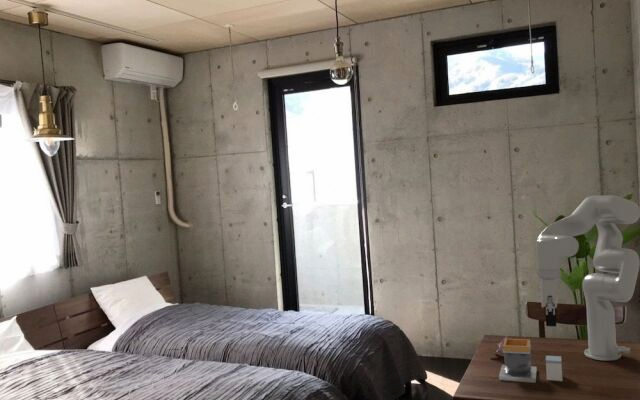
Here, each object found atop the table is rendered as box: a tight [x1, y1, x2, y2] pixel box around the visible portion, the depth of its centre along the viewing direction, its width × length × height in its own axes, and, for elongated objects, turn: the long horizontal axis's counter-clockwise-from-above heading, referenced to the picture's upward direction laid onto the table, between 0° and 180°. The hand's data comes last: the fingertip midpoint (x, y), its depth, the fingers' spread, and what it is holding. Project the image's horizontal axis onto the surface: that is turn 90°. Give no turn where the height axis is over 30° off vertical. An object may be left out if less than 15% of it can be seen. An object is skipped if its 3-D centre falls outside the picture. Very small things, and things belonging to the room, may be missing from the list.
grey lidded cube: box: [545, 355, 563, 382], centre depth 198 cm, size 5×5×7 cm
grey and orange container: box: [498, 338, 538, 384], centre depth 202 cm, size 12×12×12 cm
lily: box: [491, 332, 511, 356], centre depth 222 cm, size 12×12×10 cm
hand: (551, 322), depth 197 cm, fingers open, 9 cm apart
